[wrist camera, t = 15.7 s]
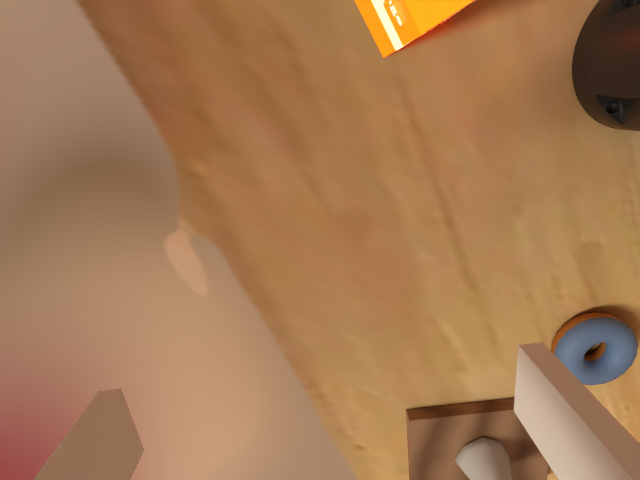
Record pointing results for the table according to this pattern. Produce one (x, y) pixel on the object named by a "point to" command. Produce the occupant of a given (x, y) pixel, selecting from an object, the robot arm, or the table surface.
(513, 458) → the walnut board
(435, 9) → the orange juice
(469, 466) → the flask
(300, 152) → the table surface
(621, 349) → the doughnut
